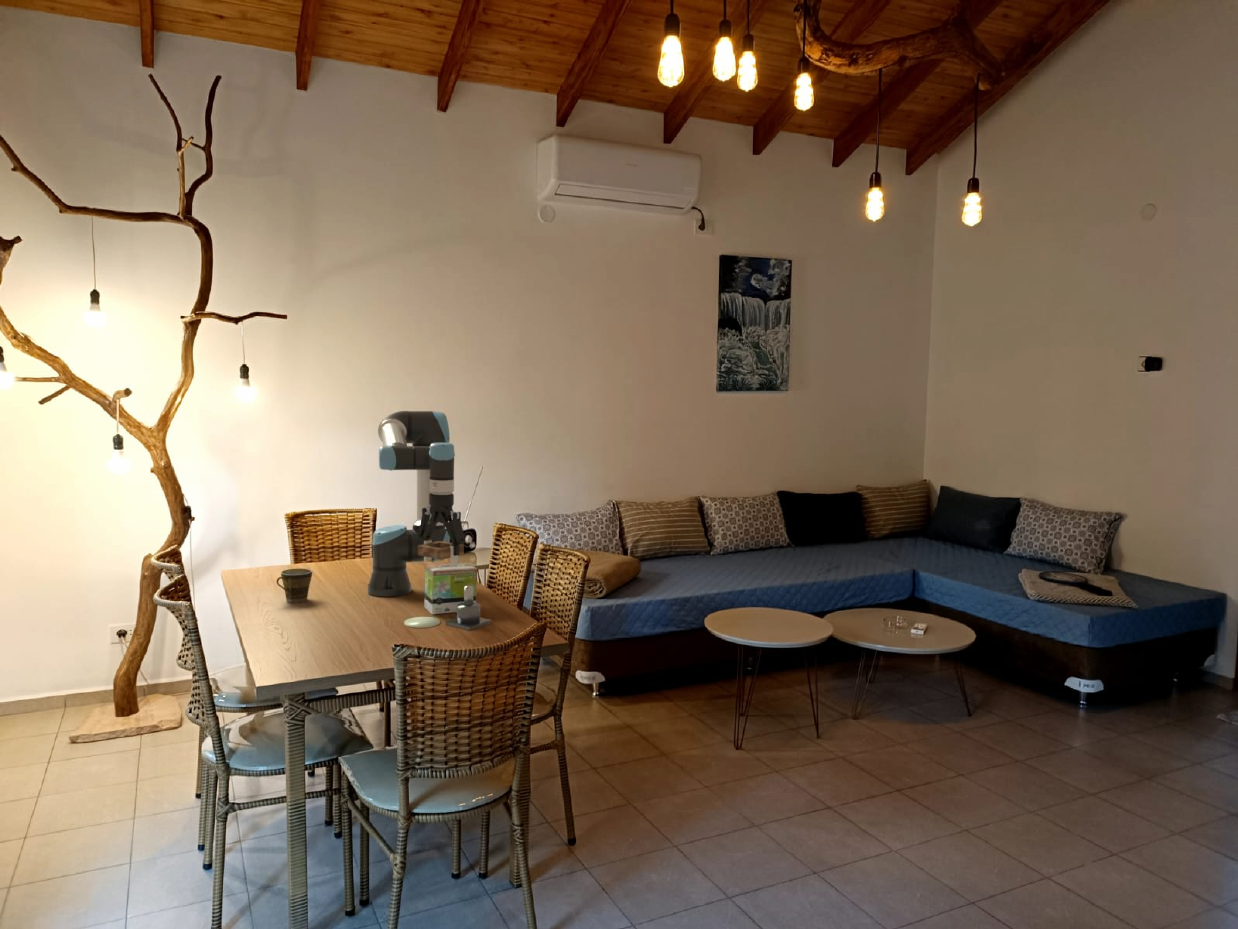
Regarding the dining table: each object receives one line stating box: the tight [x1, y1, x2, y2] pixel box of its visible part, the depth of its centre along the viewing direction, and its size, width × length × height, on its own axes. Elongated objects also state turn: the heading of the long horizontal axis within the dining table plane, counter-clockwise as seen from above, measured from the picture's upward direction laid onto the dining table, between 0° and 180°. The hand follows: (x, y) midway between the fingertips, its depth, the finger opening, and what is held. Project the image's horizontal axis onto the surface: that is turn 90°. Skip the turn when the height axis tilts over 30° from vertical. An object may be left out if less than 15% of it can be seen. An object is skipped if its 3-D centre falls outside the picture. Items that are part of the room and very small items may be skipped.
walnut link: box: [418, 541, 465, 561], centre depth 269 cm, size 10×10×3 cm
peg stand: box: [444, 585, 492, 631], centre depth 271 cm, size 10×10×12 cm
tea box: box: [423, 562, 478, 615], centre depth 287 cm, size 15×10×15 cm, turn 117°
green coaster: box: [403, 616, 441, 629], centre depth 271 cm, size 11×11×1 cm
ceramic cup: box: [276, 567, 313, 604], centre depth 291 cm, size 13×10×10 cm
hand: (440, 563), depth 270 cm, fingers closed on walnut link, 10 cm apart
